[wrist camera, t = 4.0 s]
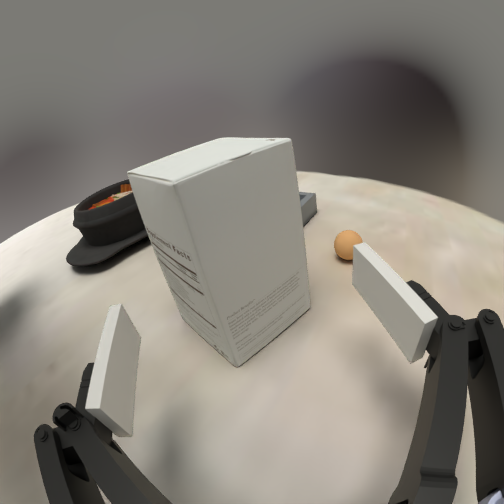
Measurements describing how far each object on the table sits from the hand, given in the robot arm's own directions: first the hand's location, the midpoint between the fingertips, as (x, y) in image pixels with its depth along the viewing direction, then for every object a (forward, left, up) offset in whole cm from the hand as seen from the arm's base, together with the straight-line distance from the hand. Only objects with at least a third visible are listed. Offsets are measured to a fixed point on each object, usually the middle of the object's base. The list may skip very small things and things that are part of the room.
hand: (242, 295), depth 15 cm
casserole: (-37, +12, -9) cm, 40 cm away
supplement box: (-6, +5, -9) cm, 11 cm away
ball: (0, +17, -8) cm, 19 cm away
